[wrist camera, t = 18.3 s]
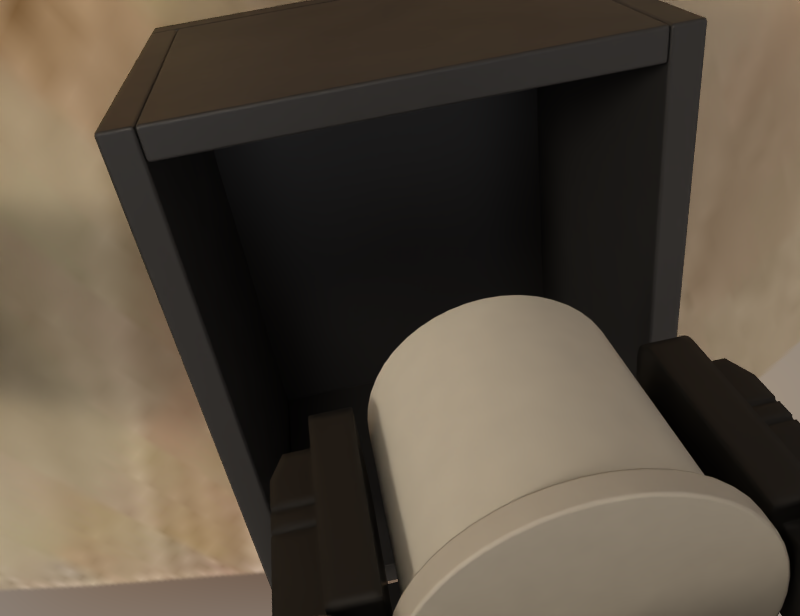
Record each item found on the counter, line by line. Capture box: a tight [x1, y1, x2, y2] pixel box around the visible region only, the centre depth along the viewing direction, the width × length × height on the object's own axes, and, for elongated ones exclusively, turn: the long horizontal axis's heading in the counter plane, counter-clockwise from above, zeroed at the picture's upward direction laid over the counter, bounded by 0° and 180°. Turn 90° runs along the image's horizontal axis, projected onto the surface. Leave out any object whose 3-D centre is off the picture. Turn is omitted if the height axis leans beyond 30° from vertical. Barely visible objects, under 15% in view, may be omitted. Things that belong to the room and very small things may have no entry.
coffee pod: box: [367, 295, 790, 616], centre depth 11 cm, size 5×5×4 cm
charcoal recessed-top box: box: [94, 0, 707, 589], centre depth 23 cm, size 16×13×10 cm
